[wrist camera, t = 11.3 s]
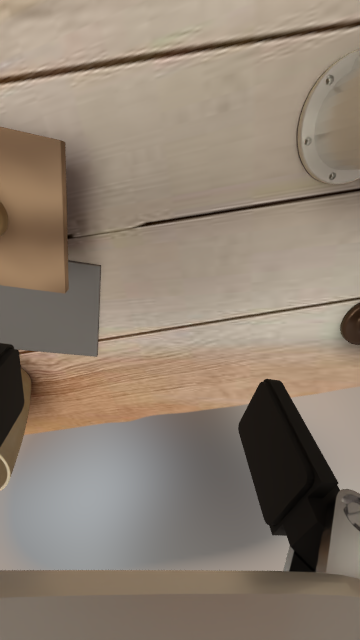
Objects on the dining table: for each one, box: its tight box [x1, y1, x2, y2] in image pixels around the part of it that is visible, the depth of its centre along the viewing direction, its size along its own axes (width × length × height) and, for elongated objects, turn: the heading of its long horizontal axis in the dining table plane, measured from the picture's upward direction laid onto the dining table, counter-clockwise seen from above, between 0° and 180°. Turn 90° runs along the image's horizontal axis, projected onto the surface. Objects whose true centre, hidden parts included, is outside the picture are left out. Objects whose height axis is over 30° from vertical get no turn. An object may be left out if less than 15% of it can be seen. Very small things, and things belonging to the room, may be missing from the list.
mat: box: [0, 261, 101, 357], centre depth 38 cm, size 16×16×1 cm
